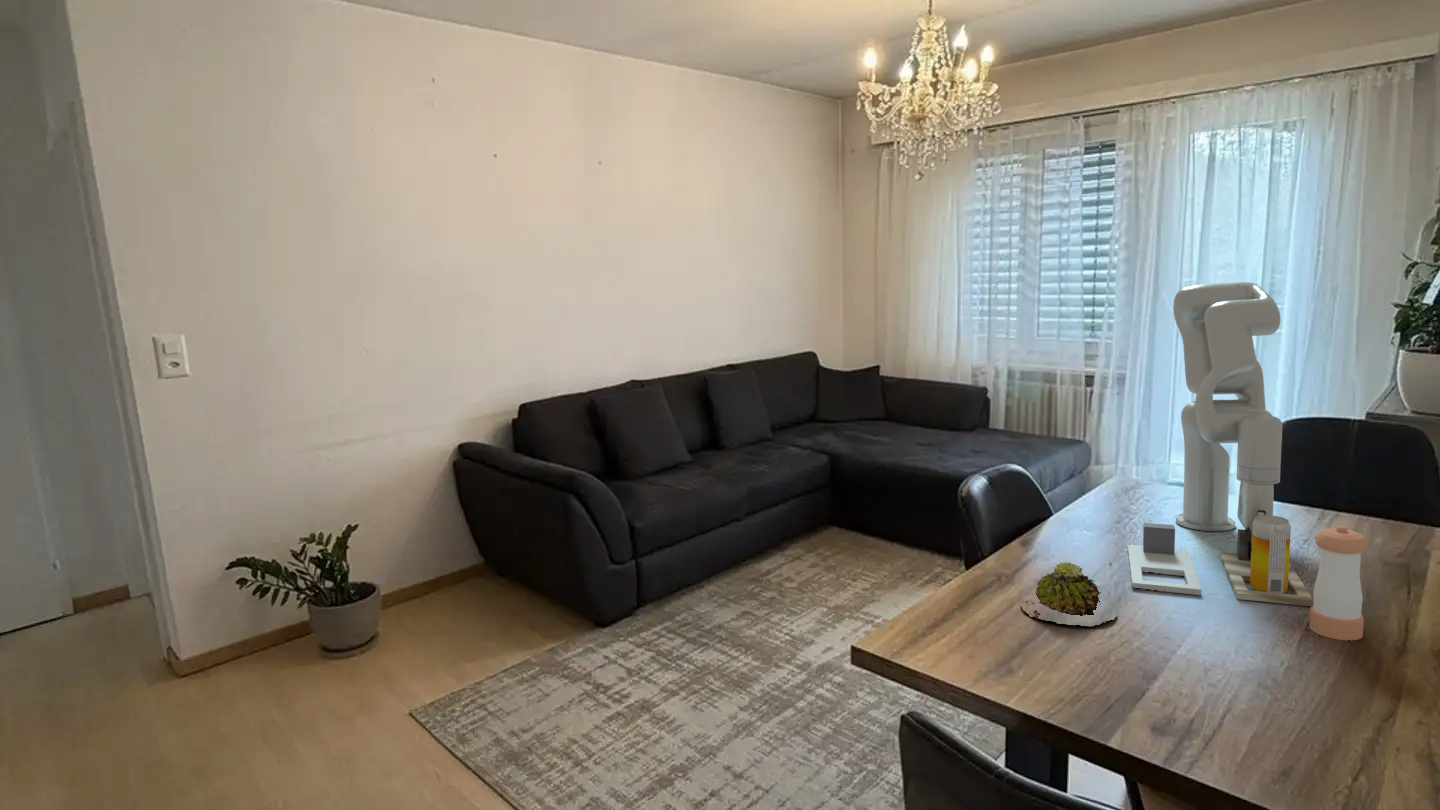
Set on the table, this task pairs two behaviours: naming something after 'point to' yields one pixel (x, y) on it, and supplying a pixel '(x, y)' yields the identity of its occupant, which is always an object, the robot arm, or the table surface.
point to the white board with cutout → (1162, 561)
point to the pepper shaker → (1338, 585)
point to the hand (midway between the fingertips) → (1254, 555)
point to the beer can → (1270, 554)
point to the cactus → (1068, 591)
